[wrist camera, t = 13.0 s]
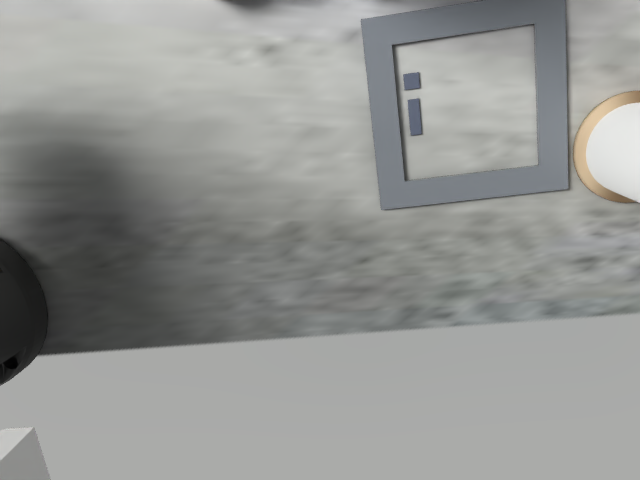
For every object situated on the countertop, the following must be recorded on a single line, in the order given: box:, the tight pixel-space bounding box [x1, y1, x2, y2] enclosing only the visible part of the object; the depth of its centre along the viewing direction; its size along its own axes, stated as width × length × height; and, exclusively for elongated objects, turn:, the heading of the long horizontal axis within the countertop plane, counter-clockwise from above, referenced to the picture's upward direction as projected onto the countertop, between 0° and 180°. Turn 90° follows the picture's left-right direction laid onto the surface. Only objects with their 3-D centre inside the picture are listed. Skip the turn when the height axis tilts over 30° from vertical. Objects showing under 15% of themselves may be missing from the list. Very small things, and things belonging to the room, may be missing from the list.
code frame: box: [361, 0, 568, 210], centre depth 39 cm, size 14×14×1 cm
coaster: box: [573, 91, 640, 203], centre depth 39 cm, size 8×8×1 cm
